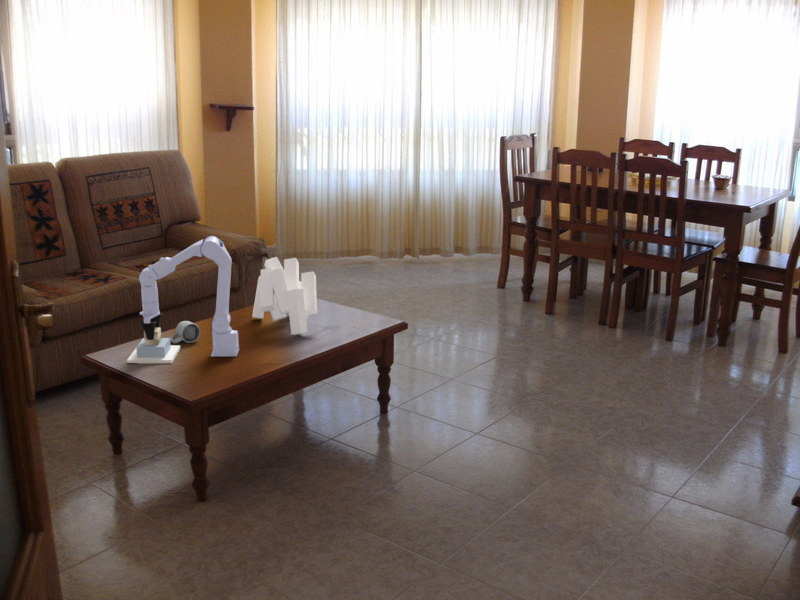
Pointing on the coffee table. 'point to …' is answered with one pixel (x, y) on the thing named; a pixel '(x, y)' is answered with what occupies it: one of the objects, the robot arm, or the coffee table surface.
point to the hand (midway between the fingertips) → (152, 336)
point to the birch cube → (156, 339)
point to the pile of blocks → (286, 293)
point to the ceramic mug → (186, 332)
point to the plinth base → (155, 360)
